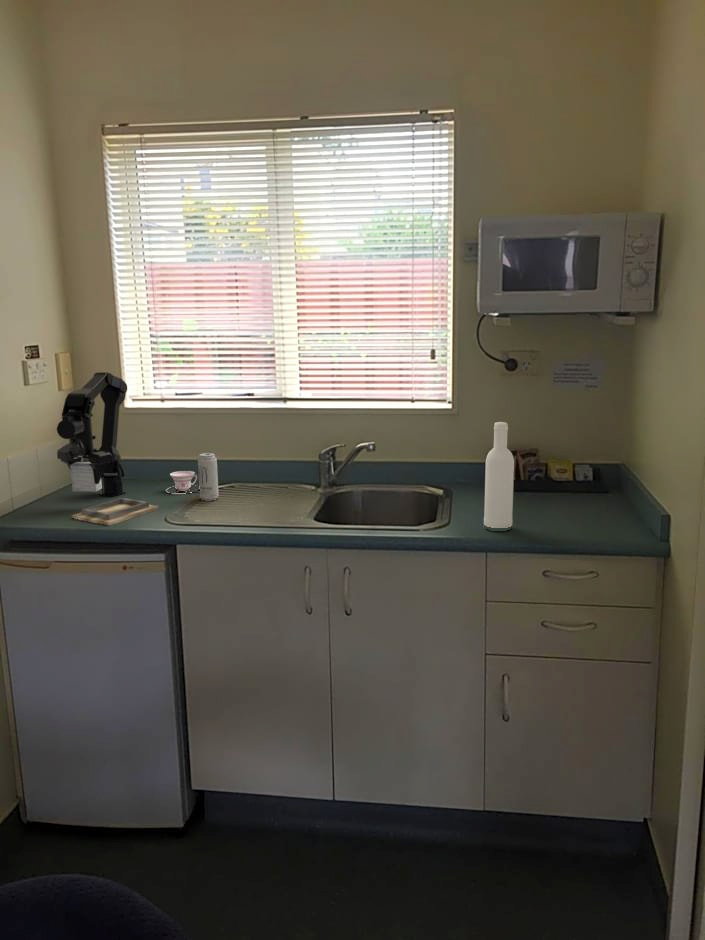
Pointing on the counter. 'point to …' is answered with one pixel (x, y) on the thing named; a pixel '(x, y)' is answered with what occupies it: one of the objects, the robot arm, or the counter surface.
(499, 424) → the bottle
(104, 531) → the counter surface
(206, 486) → the energy drink can
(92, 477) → the medicine box
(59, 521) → the counter surface
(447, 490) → the counter surface
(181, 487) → the teacup
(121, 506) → the holder
